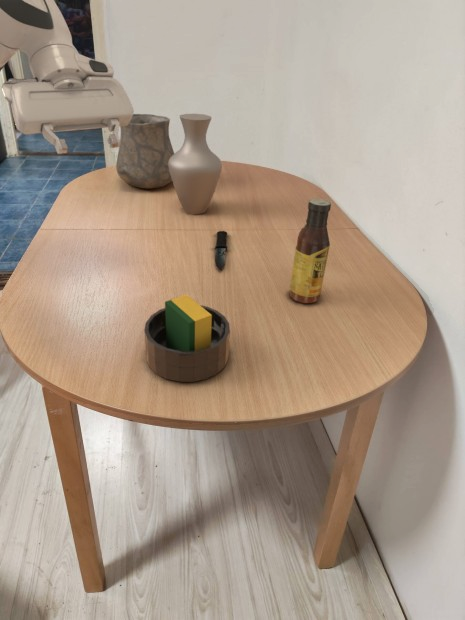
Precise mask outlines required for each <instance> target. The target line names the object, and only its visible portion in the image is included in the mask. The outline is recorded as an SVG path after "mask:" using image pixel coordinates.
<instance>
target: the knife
mask: <svg viewBox="0 0 465 620" xmlns="http://www.w3.org/2000/svg"><path fill="white" fill-rule="evenodd" d="M227 236H228V232H227V231H225V230H220V231H219V230H218V231H217V232H216V242H215V243H216V244H215V246H214V250H215V251H214V253H215V254H214V264H215V267H216V268H217V269H218V270H219V271H220V272H222V271H223V267H224V266H225V265H226V251H227V250H228V246H227V241H228V240H227V239H228V237H227Z"/></svg>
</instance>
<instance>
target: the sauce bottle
mask: <svg viewBox="0 0 465 620" xmlns="http://www.w3.org/2000/svg"><path fill="white" fill-rule="evenodd" d="M331 207H332V203H331V201H330V200H328V199H324V198H316V197H315V198H311V199H309V200H308V203H307V209H308V211H307V217H306V220H305V221H306V222H305V224H304V225H303V227H302V228H301V229H300V231H299V232H298V234H297V241H296V246H295V251H294V257H293V263H292V264H293V265H292V271H291V277H290V283H289V296H290V298H291V299H292V300H293V301H295V302H296V303H297V302H298V303H301V304H313V303H316V302H317V301H318V300H319V298H320V295H321V293H322V288H323V283H324V278H325V272H326V267H327V262H328V257H329V252H330V247H331V246H330V245H331V242H330V237H329V231H328V217H329V213H330V211H331Z"/></svg>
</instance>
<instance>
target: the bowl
mask: <svg viewBox="0 0 465 620" xmlns="http://www.w3.org/2000/svg"><path fill="white" fill-rule="evenodd" d="M199 305H200V306H201V307H203V308H204V309H205V310H206V311H208V312H209V313H210V314H211V315H212V323H211V346H210V347H208V348H205V349H200V350H195V351H178V350H174V349H169V348H167V341H166V315H165V307H164V308H161V309H159V310H157V311H156V312H154V313H153V314H151V315H150V316H149V317H148V319H147V321H145V324H144V329H143V332H144V333H143V334H144V345H145V346H144V347H145V359H146V362H147V364H148V367H149V368H150V369H151V370H152V371H153V372H154V373H155V374H156V375H159V376H160V377H162V378H164V379H167V380H171V381H174V382H175V381H176V382H180V383H181V382H183V383H184V382H186V383H187V382H188V383H189V382H190V383H191V382H197V381H202V380H206V379H209V378H211V377H214V376H215V375H217V374H219V372H221V371H222V370H223V369H224V368H225V367H226V365H227V362H228V360H229V355H230V354H229V353H230V337H231V336H230V335H231V328H230V321H228V319H227V318H226V316H225V315H223V314H222V313H221V312H220V311H218V310H217V309H214V308H211V307H210V306H206V305H201V304H199Z"/></svg>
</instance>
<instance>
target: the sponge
mask: <svg viewBox="0 0 465 620" xmlns="http://www.w3.org/2000/svg"><path fill="white" fill-rule="evenodd" d="M200 305H201V304H199V303H198V302H197V301H196V300H195V299H193V298H192V297H190V296H189V295H188V294H184V295H180V296H177V297H175V298H172V299H169V300H166V301H164V308H165V315H166V341H167V348H169V349H174V350H178V351H195V350H200V349H205V348H208V347H210V346H211V323H212V315H211V314H210V313H209V312H208V311H206V310H205V309H204V308H203V307H201V306H202V305H201V306H200Z"/></svg>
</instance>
